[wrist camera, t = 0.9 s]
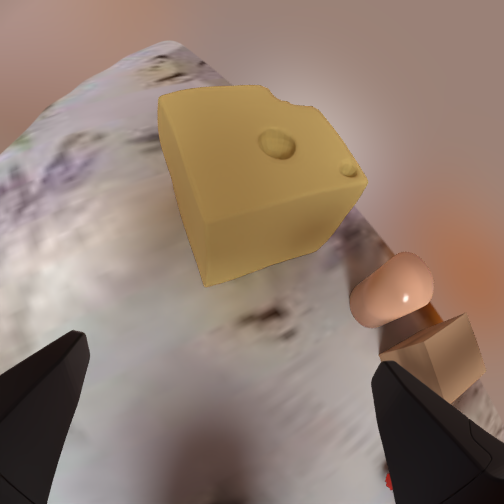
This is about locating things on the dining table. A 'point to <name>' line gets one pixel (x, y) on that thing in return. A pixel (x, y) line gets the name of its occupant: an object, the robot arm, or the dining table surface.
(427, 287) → the peach rounded capsule
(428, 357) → the walnut block
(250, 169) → the cheese
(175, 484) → the dining table surface
